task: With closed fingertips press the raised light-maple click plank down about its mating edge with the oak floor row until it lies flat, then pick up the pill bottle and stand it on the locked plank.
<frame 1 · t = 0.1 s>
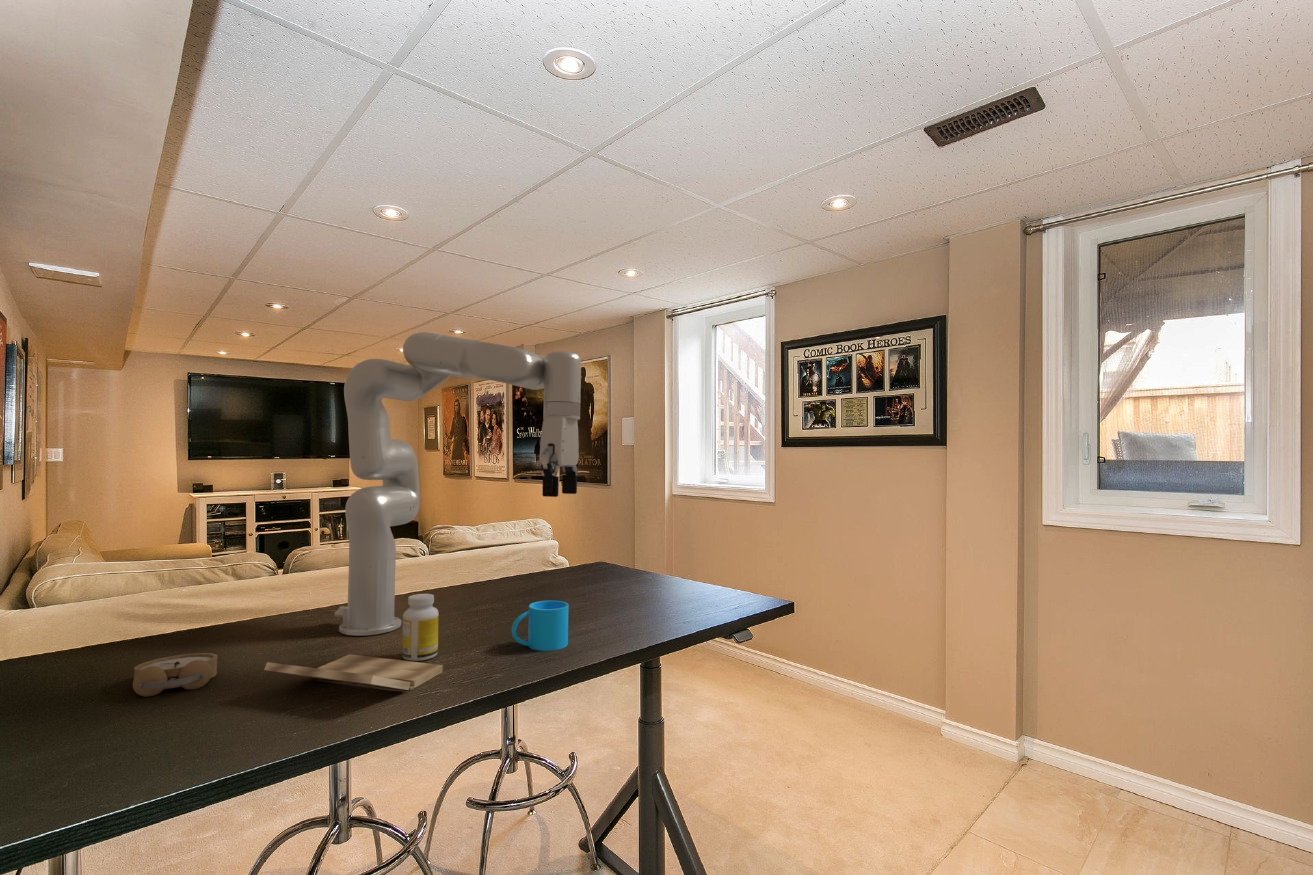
hand: (560, 494, 126), 31 cm above the table, fingers open, 9 cm apart
floor row: (379, 673, 109), on the table
pill bottle: (419, 657, 118), on the table
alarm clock: (175, 686, 103), on the table
mug: (539, 647, 126), on the table
plank: (338, 676, 99), point 3 cm above the table, hinge at 25.0°
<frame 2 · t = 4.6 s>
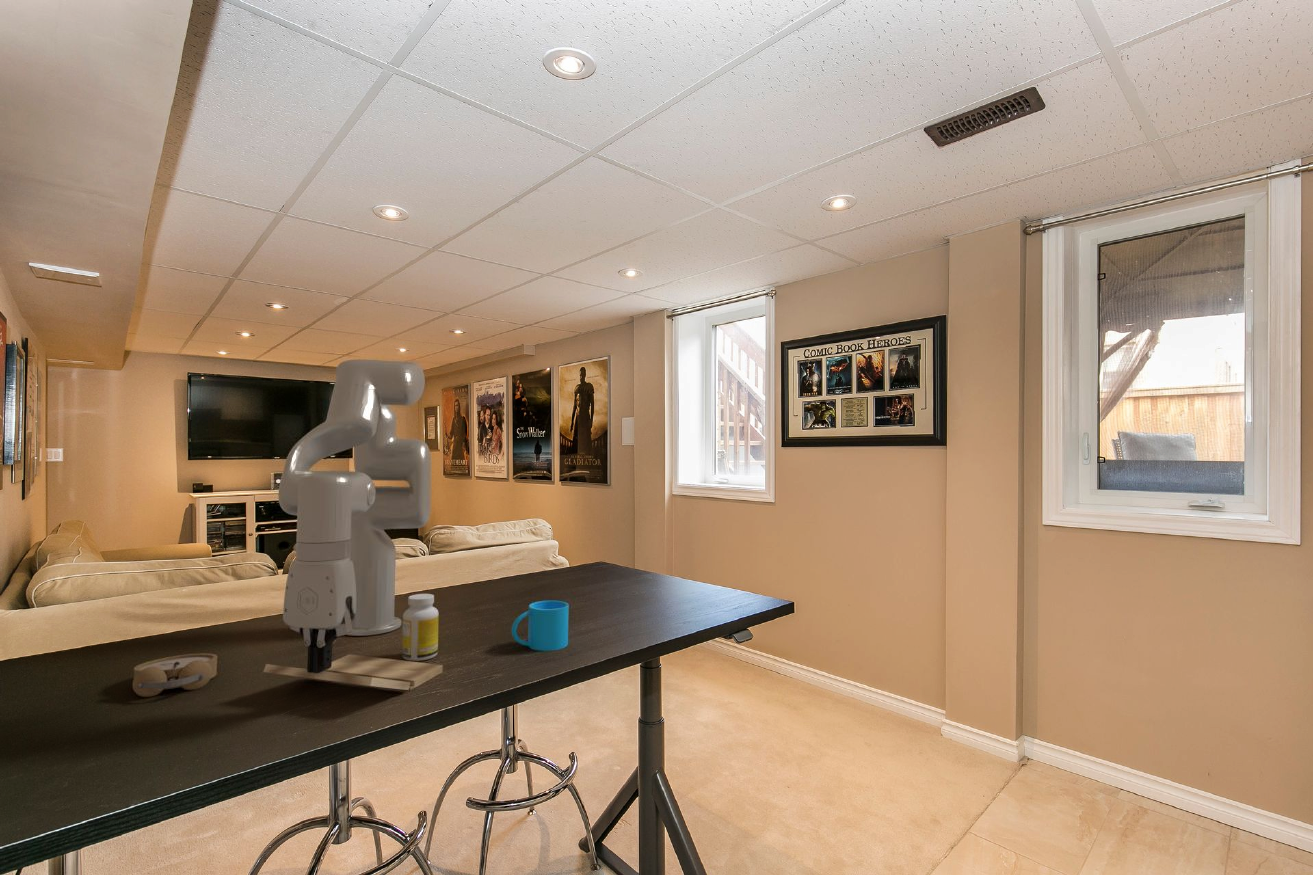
hand: (319, 669, 95), 5 cm above the table, fingers closed
plank: (338, 677, 99), point 3 cm above the table, hinge at 23.4°, touching gripper
everything else where it was.
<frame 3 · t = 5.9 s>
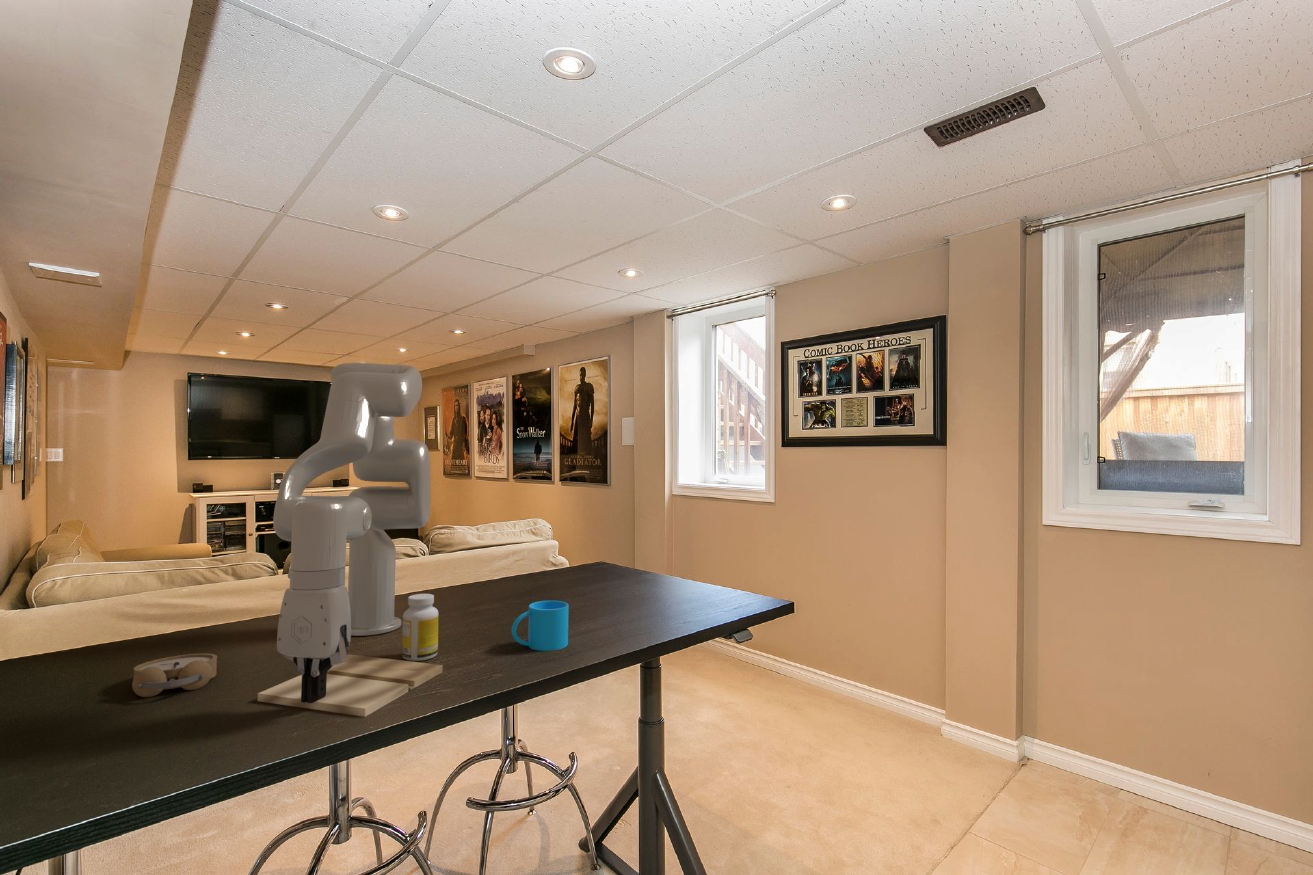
hand: (313, 699, 94), 1 cm above the table, fingers closed
plank: (334, 692, 99), point 1 cm above the table, hinge at -0.2°, touching gripper
everything else where it was.
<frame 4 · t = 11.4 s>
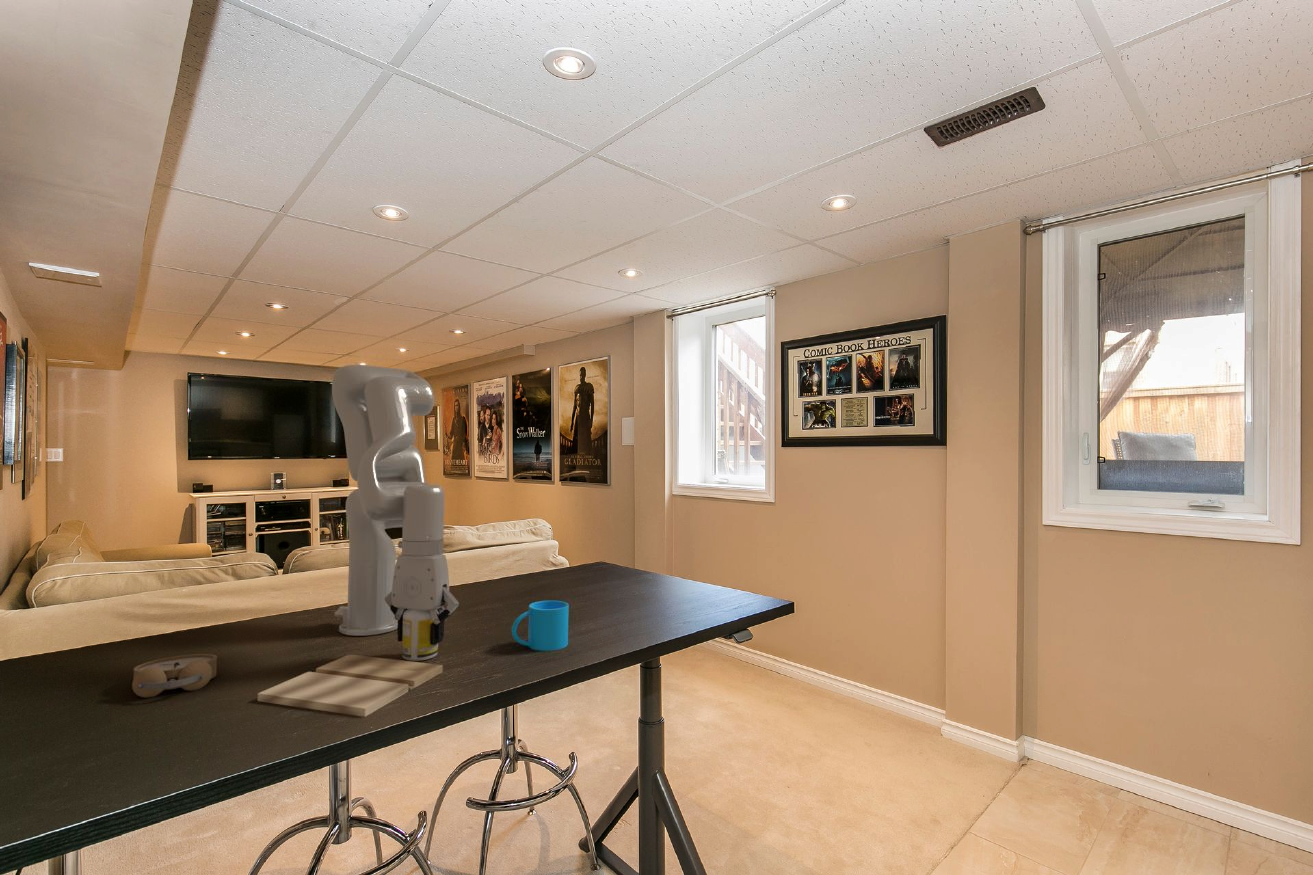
hand: (420, 640, 118), 3 cm above the table, fingers closed on pill bottle, 6 cm apart
pill bottle: (419, 657, 118), on the table, touching gripper
plank: (334, 692, 99), point 1 cm above the table, hinge at -0.2°
everything else where it was.
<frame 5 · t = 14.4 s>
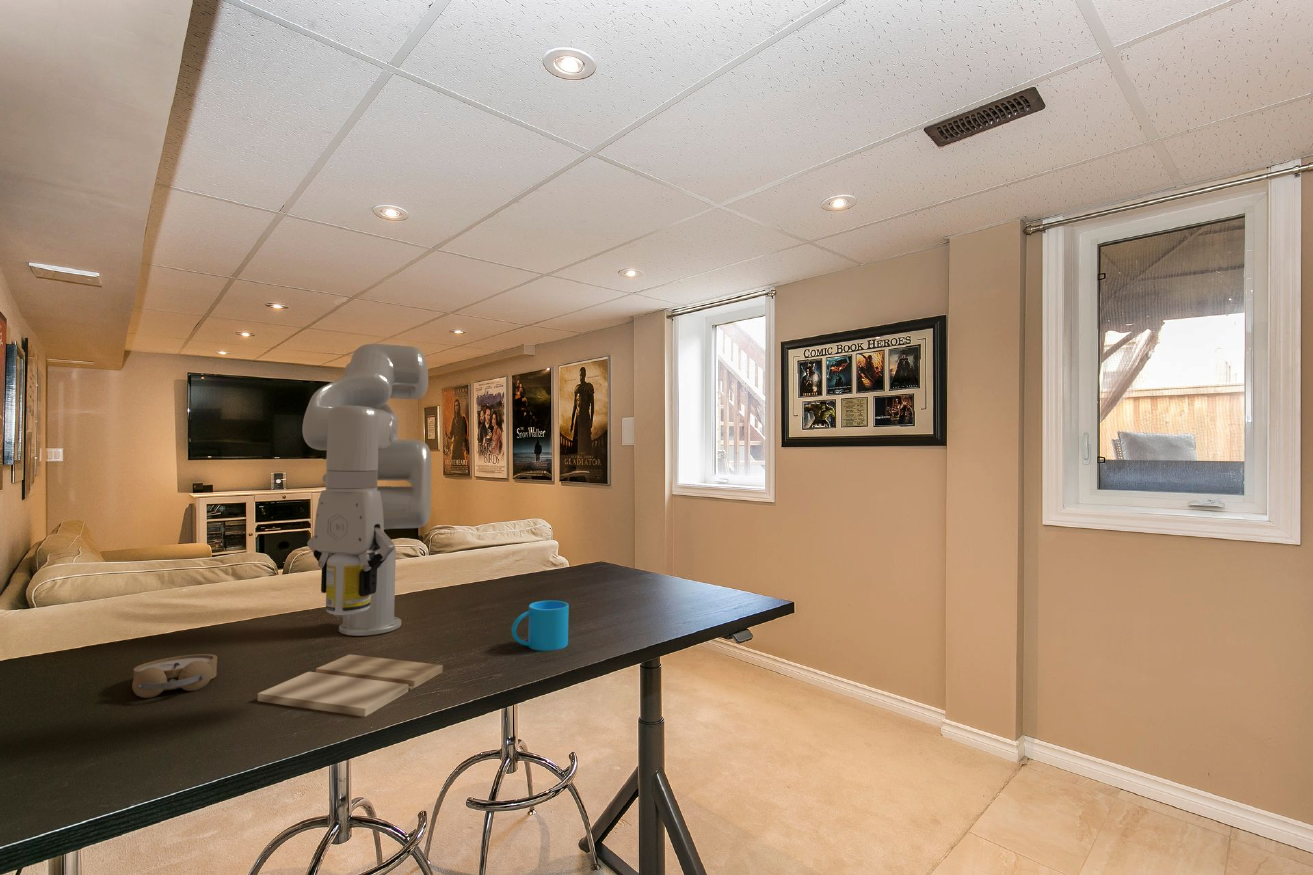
hand: (348, 591, 99), 17 cm above the table, fingers closed on pill bottle, 6 cm apart
pill bottle: (348, 612, 99), point 14 cm above the table, touching gripper
everything else where it was.
when the fingers open (5 cm above the table, at t = 17.3 s): pill bottle drops 1 cm, resting on plank.
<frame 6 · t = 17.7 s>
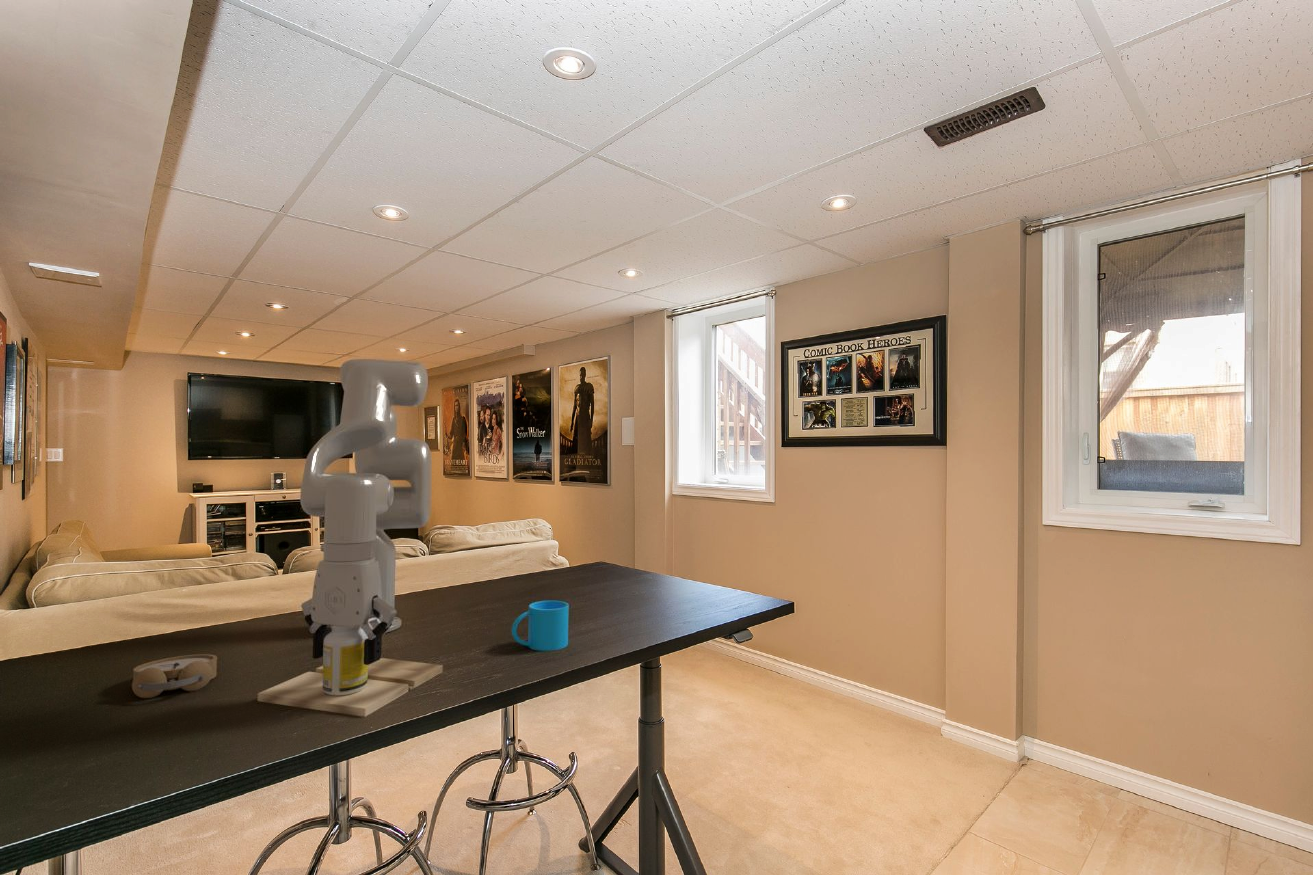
hand: (346, 658, 98), 6 cm above the table, fingers open, 9 cm apart
pill bottle: (344, 690, 98), point 1 cm above the table, touching plank
plank: (334, 692, 99), point 1 cm above the table, hinge at -0.2°, touching pill bottle
everything else where it was.
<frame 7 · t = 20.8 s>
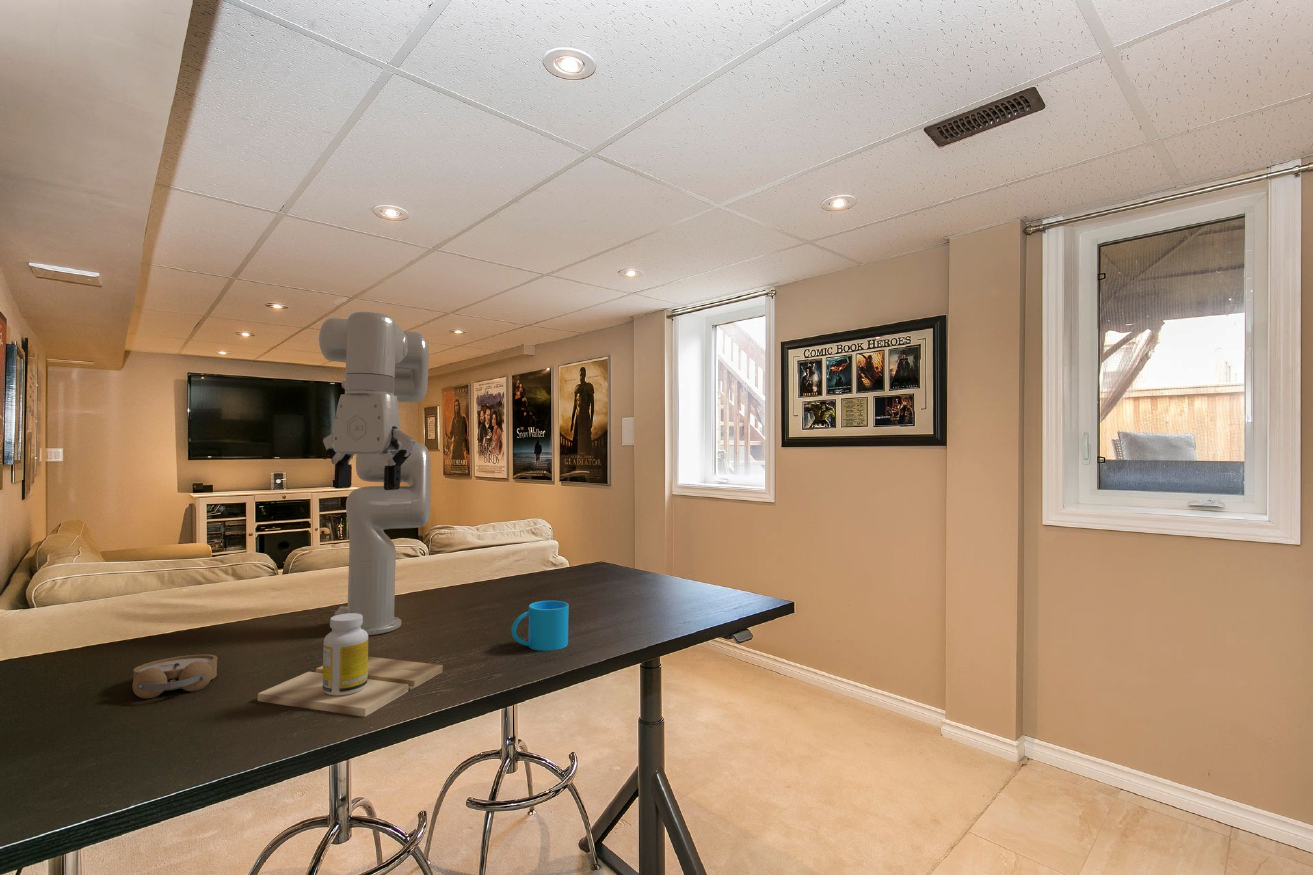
hand: (367, 488, 103), 33 cm above the table, fingers open, 9 cm apart
nothing on the table moved.
at the end: plank at +0° (first picture: +25°); pill bottle inside the target area on the plank (1.8 cm from its centre), point 1.0 cm above the plank's base; pill bottle tilted 0° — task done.
